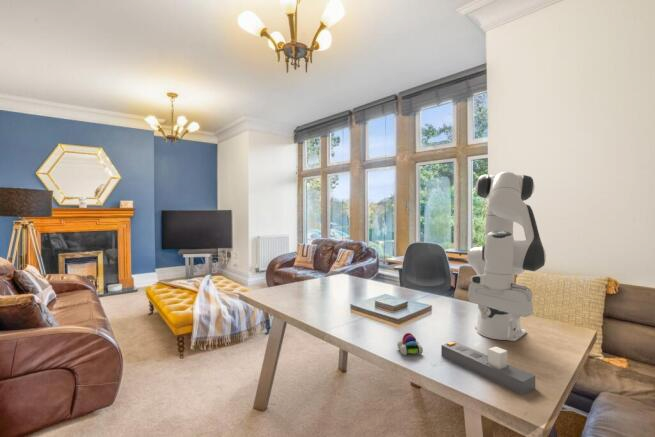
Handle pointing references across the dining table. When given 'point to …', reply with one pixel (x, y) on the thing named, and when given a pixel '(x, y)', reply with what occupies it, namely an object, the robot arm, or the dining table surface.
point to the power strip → (489, 368)
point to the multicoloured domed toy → (409, 345)
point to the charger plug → (497, 358)
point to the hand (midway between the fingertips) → (498, 322)
